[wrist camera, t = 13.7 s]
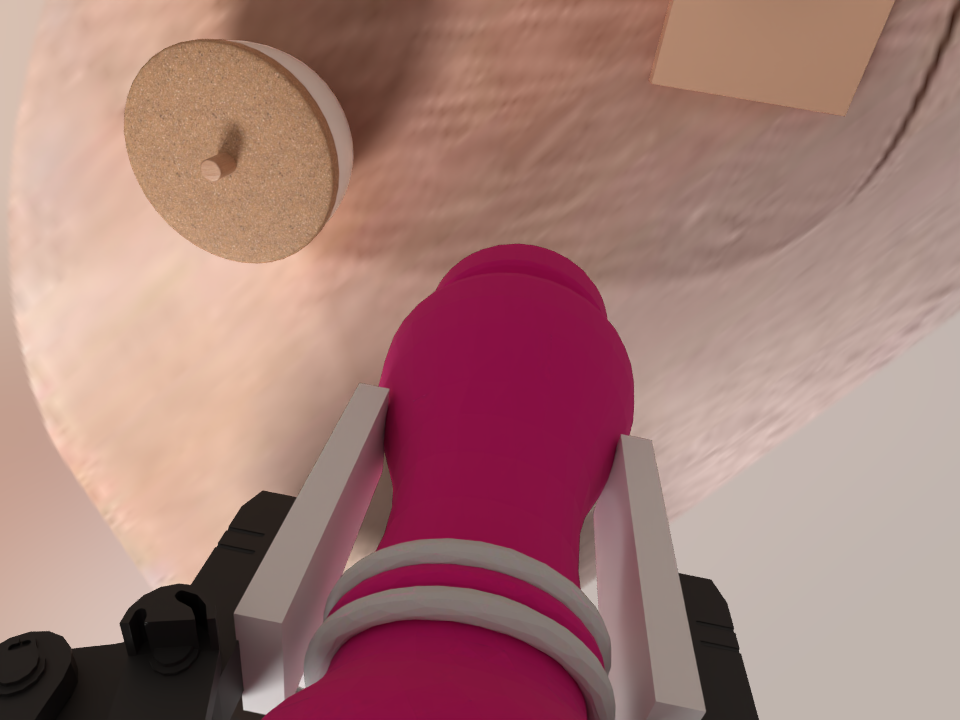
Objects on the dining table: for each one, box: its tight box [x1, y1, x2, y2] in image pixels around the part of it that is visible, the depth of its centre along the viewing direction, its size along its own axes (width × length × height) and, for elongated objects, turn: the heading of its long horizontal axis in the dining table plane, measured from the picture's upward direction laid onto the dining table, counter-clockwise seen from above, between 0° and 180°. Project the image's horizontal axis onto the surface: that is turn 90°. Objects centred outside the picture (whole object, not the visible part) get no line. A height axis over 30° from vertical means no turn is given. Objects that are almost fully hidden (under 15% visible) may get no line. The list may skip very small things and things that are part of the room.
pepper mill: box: [261, 244, 634, 720], centre depth 12 cm, size 7×7×20 cm
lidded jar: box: [124, 39, 354, 263], centre depth 32 cm, size 11×11×9 cm
